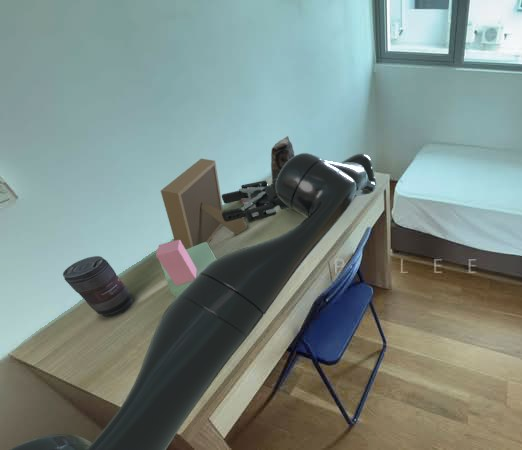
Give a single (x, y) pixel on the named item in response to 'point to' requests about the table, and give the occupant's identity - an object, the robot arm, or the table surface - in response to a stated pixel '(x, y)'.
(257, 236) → the table surface
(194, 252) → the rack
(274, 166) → the owl
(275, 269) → the robot arm
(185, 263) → the pink box
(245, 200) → the paintbrush
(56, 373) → the table surface
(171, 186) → the photo frame
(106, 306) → the camera lens
